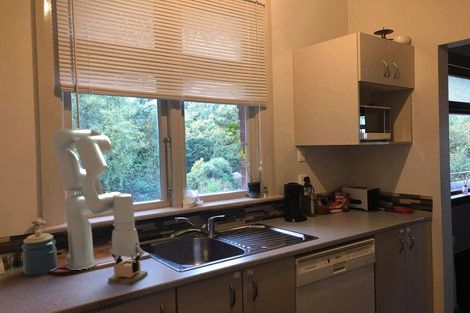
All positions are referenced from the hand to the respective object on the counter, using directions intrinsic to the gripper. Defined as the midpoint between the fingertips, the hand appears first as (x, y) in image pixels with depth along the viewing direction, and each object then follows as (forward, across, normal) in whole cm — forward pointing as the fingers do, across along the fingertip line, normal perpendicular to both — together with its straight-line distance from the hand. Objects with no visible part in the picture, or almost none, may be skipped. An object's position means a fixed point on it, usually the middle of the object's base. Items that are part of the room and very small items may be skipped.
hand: (127, 270), depth 143 cm
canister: (+4, -44, -2) cm, 44 cm away
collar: (+1, 0, 0) cm, 1 cm away
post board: (+3, 0, 0) cm, 3 cm away
